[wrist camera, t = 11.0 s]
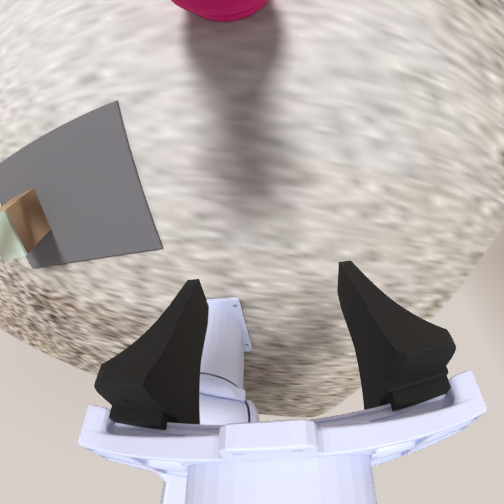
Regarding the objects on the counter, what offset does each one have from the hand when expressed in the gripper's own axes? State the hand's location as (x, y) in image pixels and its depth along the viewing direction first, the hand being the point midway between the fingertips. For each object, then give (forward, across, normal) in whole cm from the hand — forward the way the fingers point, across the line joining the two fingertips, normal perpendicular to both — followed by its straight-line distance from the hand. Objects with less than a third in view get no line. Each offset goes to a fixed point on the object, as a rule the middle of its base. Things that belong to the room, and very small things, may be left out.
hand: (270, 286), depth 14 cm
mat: (+10, +20, -4) cm, 23 cm away
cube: (+5, +25, -4) cm, 26 cm away
